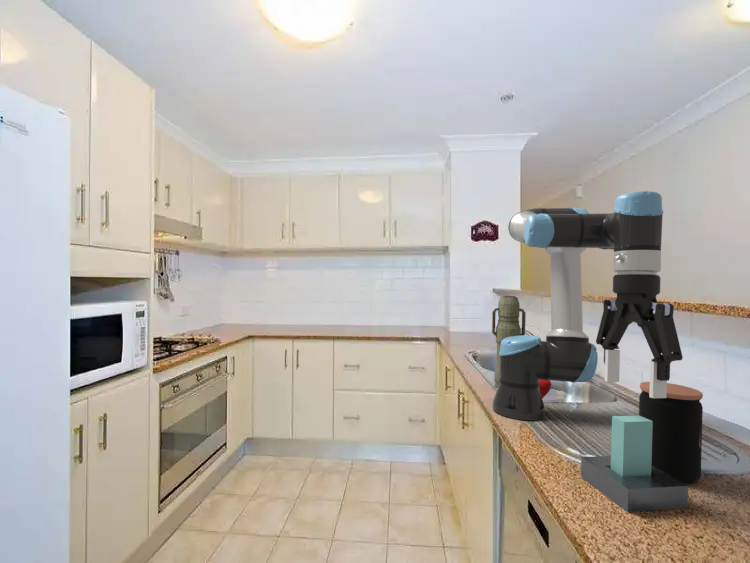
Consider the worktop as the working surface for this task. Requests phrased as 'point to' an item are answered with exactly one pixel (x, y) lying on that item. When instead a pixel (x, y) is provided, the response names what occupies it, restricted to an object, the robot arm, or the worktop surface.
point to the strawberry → (544, 387)
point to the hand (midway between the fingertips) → (633, 388)
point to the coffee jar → (675, 430)
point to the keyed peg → (631, 446)
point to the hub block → (635, 486)
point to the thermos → (506, 325)
